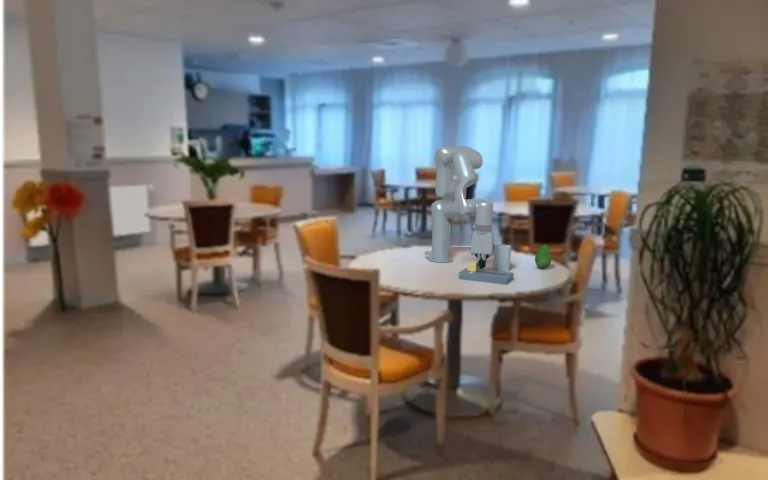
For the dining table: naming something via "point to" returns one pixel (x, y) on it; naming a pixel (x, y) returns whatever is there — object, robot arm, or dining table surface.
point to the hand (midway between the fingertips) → (481, 268)
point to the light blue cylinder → (502, 258)
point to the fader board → (487, 276)
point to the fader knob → (473, 266)
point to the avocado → (543, 257)
